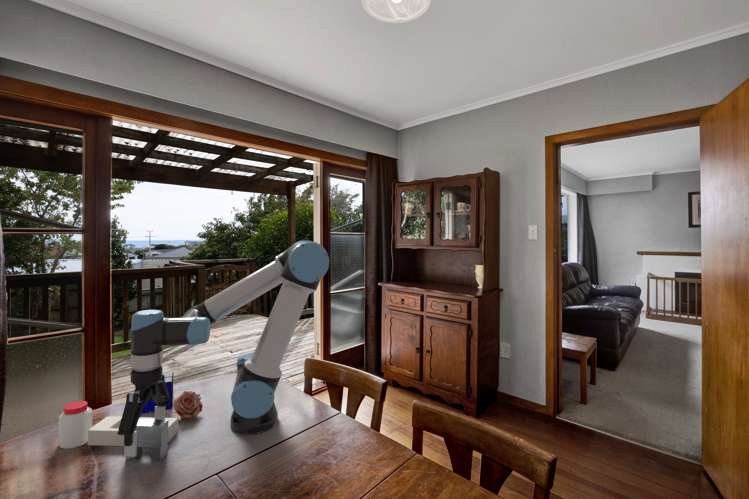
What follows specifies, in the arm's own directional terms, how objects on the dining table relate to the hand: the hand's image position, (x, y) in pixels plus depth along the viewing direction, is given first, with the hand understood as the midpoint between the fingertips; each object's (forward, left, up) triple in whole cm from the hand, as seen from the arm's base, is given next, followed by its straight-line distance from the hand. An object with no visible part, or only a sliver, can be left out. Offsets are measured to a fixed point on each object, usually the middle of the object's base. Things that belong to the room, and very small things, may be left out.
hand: (146, 441), depth 103 cm
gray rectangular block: (0, 0, -5) cm, 5 cm away
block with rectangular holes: (+9, -9, -5) cm, 13 cm away
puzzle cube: (+14, -30, -5) cm, 34 cm away
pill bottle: (+25, -7, -5) cm, 26 cm away
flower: (-1, -22, -5) cm, 23 cm away
